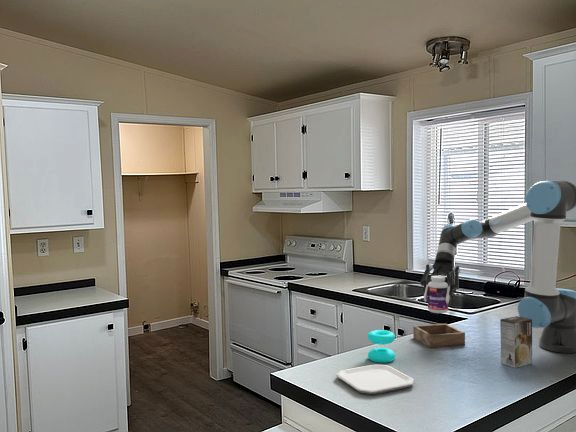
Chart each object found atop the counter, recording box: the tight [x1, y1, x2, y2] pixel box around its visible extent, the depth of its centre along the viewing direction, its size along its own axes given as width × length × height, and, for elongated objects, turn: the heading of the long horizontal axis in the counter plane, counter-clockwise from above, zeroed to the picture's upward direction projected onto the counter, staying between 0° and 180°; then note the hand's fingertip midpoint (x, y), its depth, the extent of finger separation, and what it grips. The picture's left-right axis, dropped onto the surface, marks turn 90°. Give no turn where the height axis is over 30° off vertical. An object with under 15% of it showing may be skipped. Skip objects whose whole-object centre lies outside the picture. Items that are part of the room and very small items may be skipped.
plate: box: [335, 363, 415, 395], centre depth 170 cm, size 21×21×2 cm
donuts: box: [367, 329, 396, 364], centre depth 193 cm, size 10×10×10 cm
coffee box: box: [500, 315, 533, 369], centre depth 185 cm, size 9×6×16 cm
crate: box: [412, 323, 466, 349], centre depth 214 cm, size 15×15×5 cm
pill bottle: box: [427, 275, 449, 314], centre depth 213 cm, size 8×8×14 cm
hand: (435, 300), depth 211 cm, fingers closed on pill bottle, 8 cm apart
